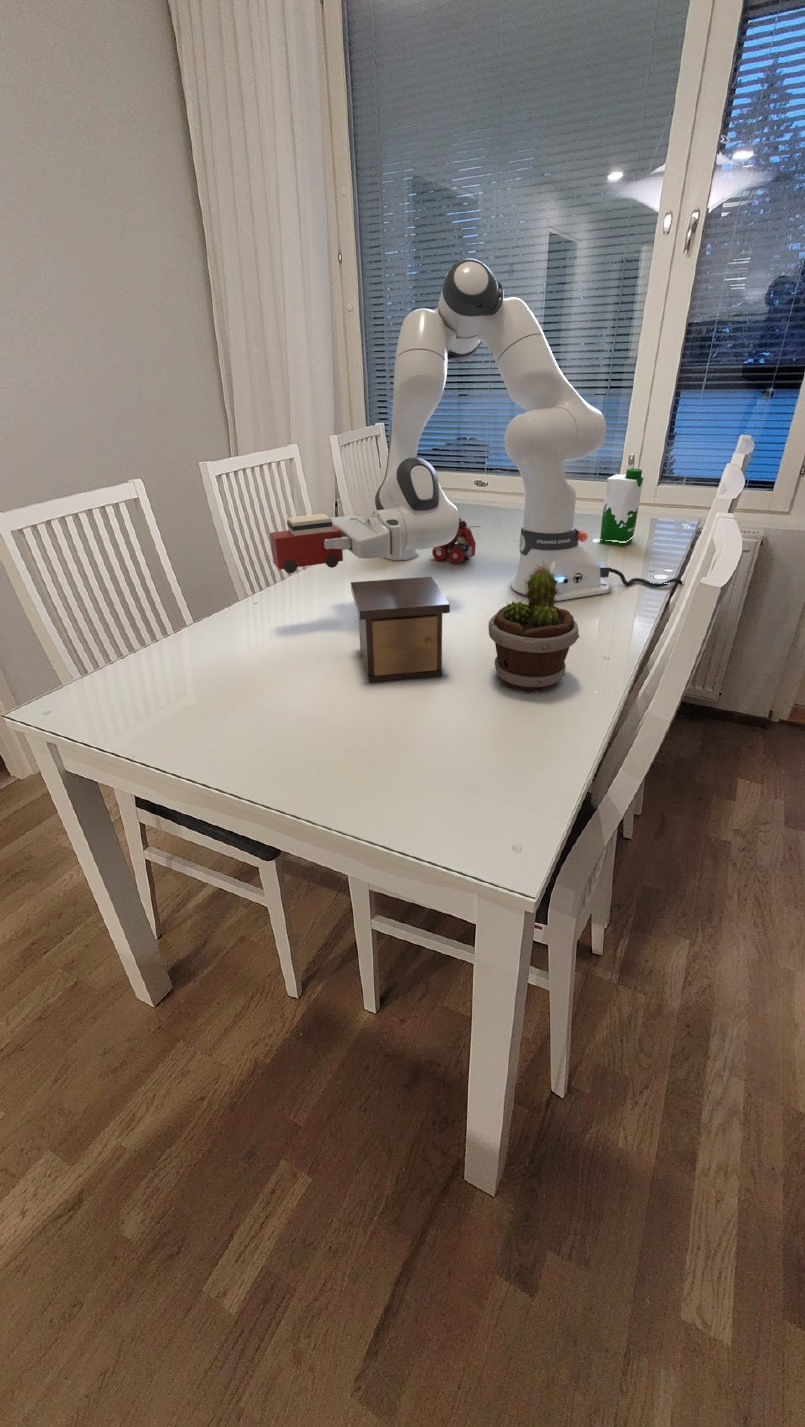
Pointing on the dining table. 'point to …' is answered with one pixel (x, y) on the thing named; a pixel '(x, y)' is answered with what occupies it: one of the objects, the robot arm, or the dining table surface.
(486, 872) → the dining table surface
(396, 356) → the robot arm
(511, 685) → the flowerpot
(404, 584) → the cabinet
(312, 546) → the car
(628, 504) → the milk carton
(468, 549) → the toy fire truck
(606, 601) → the dining table surface
